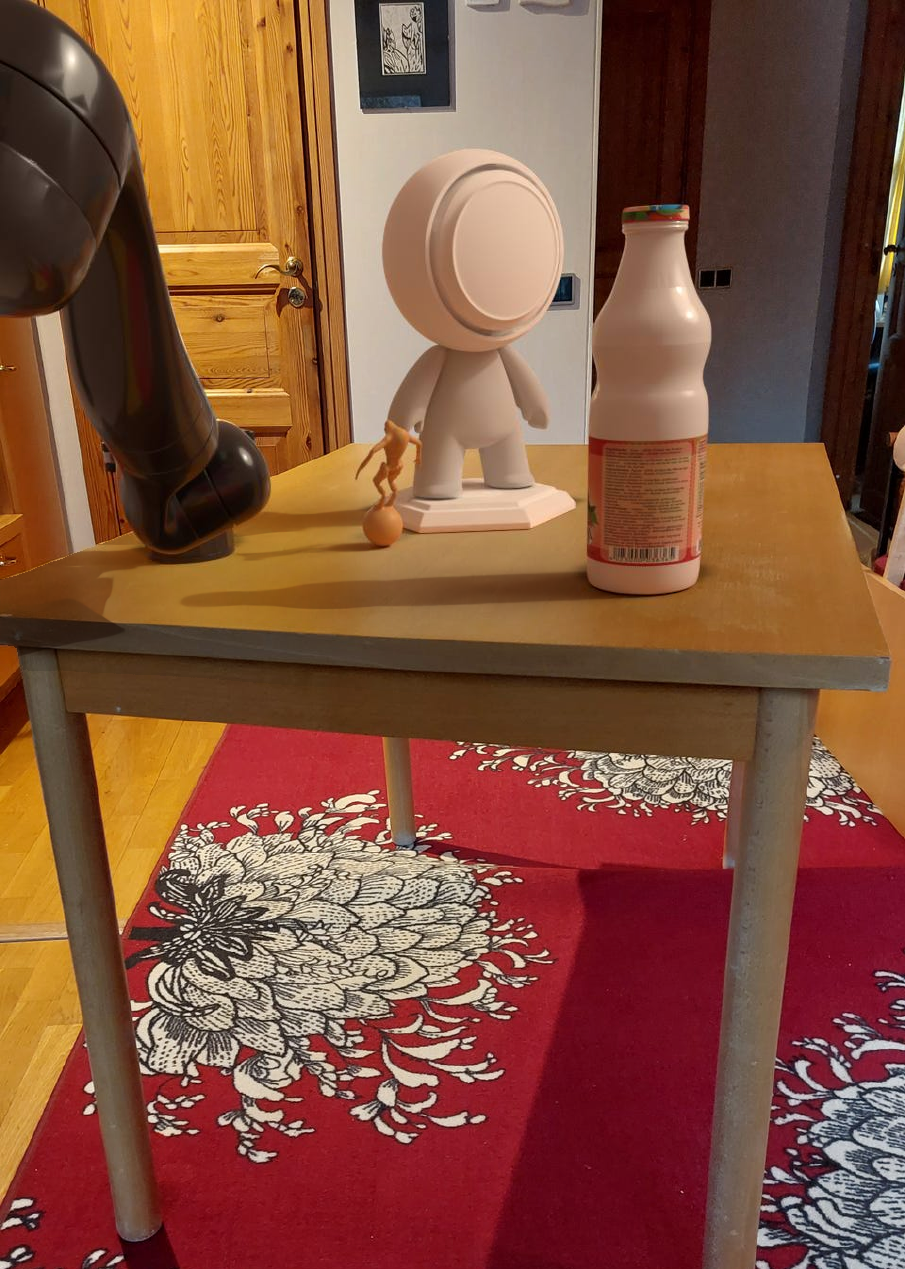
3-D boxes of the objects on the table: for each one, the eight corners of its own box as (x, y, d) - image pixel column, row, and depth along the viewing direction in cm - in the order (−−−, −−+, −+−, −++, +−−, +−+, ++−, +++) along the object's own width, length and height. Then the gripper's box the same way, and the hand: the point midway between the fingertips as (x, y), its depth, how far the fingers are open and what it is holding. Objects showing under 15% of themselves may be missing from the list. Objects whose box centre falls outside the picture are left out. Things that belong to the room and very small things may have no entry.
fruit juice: (640, 603, 87) (655, 201, 75) (563, 581, 94) (565, 211, 82) (722, 582, 92) (749, 201, 80) (643, 563, 99) (656, 210, 87)
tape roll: (167, 568, 105) (161, 531, 103) (134, 553, 111) (128, 518, 109) (249, 553, 109) (245, 517, 107) (213, 540, 115) (208, 506, 114)
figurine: (400, 535, 114) (393, 413, 109) (441, 543, 110) (436, 416, 105) (339, 550, 109) (328, 422, 103) (379, 559, 105) (371, 426, 99)
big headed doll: (447, 542, 110) (431, 134, 95) (348, 509, 128) (321, 162, 113) (607, 516, 119) (616, 139, 104) (493, 488, 137) (486, 163, 122)
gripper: (104, 514, 93) (107, 485, 108) (274, 499, 96) (254, 473, 111) (88, 420, 90) (93, 404, 105) (264, 408, 93) (245, 394, 108)
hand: (176, 440), depth 108 cm, fingers closed on candle, 5 cm apart
